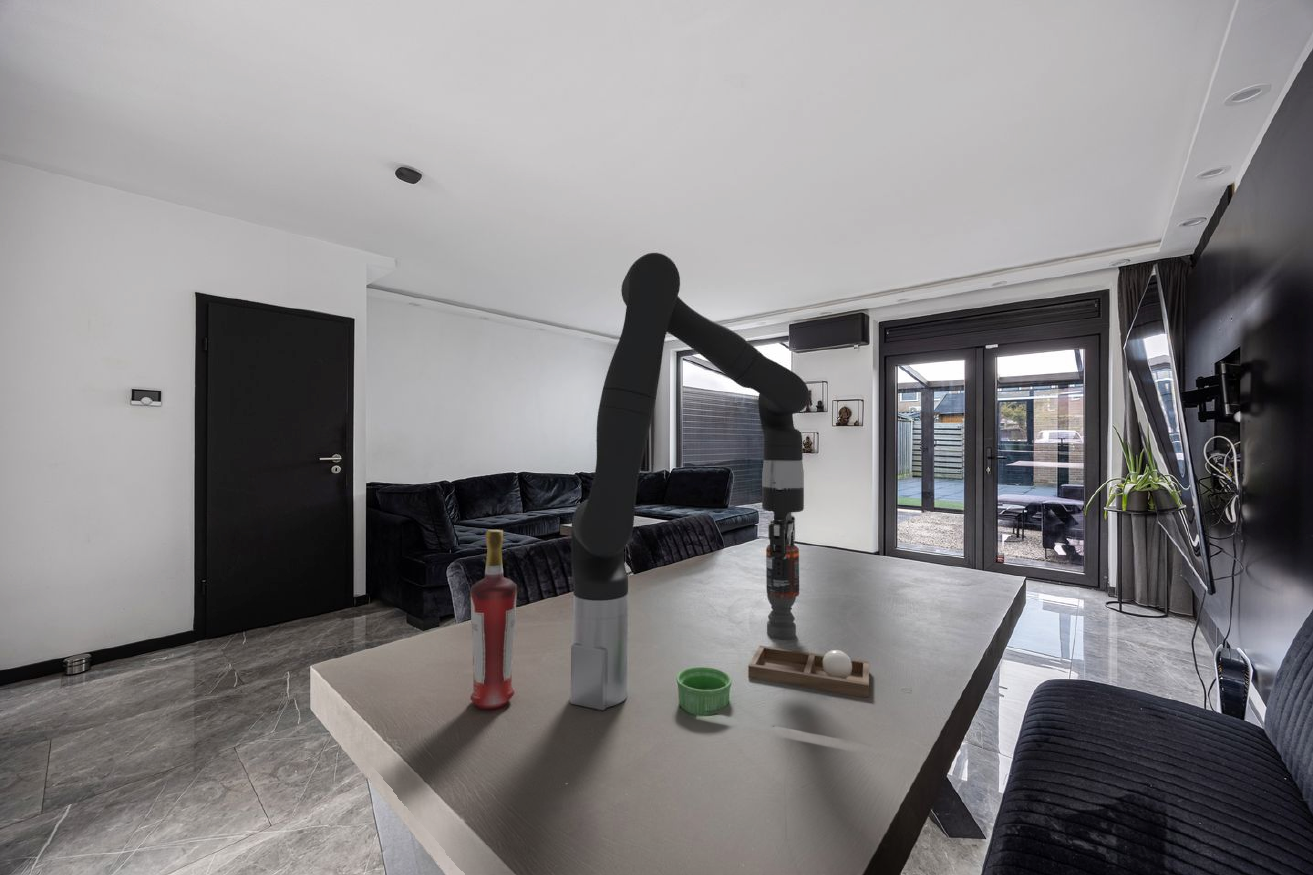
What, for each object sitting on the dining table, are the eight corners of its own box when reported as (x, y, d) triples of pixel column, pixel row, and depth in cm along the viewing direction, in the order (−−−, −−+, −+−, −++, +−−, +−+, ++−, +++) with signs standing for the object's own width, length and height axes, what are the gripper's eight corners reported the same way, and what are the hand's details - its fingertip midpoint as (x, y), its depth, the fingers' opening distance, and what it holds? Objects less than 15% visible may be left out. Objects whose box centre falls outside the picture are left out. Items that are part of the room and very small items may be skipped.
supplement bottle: (796, 591, 101) (796, 531, 101) (801, 600, 95) (802, 536, 95) (764, 590, 101) (764, 530, 102) (767, 599, 96) (768, 535, 96)
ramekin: (686, 722, 81) (686, 693, 82) (669, 695, 90) (669, 669, 90) (740, 714, 84) (740, 686, 84) (718, 689, 93) (719, 664, 93)
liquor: (468, 696, 89) (470, 528, 90) (513, 689, 92) (515, 526, 92) (469, 717, 82) (471, 535, 83) (518, 709, 85) (520, 533, 85)
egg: (851, 687, 91) (851, 658, 91) (821, 682, 93) (821, 653, 93) (852, 675, 96) (852, 647, 96) (823, 671, 98) (823, 643, 98)
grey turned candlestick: (788, 646, 112) (789, 527, 113) (762, 639, 116) (762, 525, 117) (800, 638, 117) (800, 524, 118) (774, 632, 121) (774, 521, 122)
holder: (868, 703, 88) (868, 685, 88) (748, 682, 95) (748, 665, 95) (869, 677, 97) (869, 661, 97) (759, 660, 105) (759, 645, 105)
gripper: (769, 481, 107) (769, 566, 106) (754, 486, 93) (754, 583, 93) (808, 483, 104) (807, 569, 104) (798, 488, 90) (798, 587, 90)
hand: (782, 575), depth 98 cm, fingers closed on supplement bottle, 6 cm apart
